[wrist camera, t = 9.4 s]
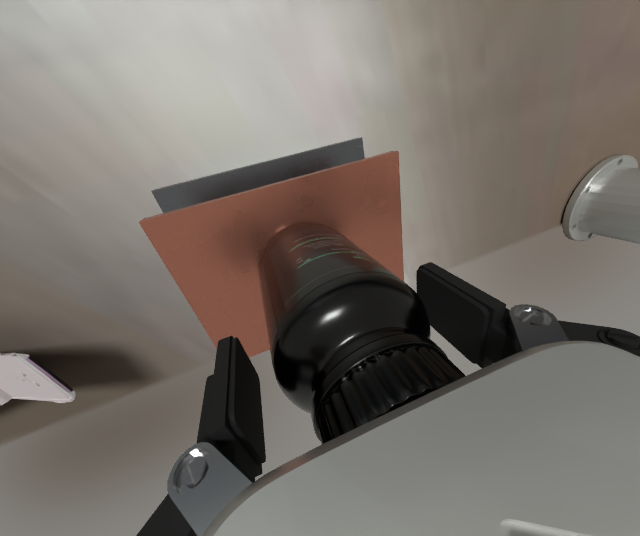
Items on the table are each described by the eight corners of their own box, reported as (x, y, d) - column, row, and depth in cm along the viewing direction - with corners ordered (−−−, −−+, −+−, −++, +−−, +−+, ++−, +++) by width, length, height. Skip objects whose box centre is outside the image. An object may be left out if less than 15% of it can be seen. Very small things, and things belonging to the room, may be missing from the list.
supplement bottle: (336, 309, 19) (447, 487, 9) (251, 305, 17) (269, 546, 6) (362, 230, 17) (555, 349, 7) (267, 211, 14) (338, 354, 4)
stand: (356, 138, 22) (411, 130, 15) (371, 265, 29) (414, 301, 22) (156, 189, 19) (106, 209, 12) (225, 317, 26) (220, 378, 19)
